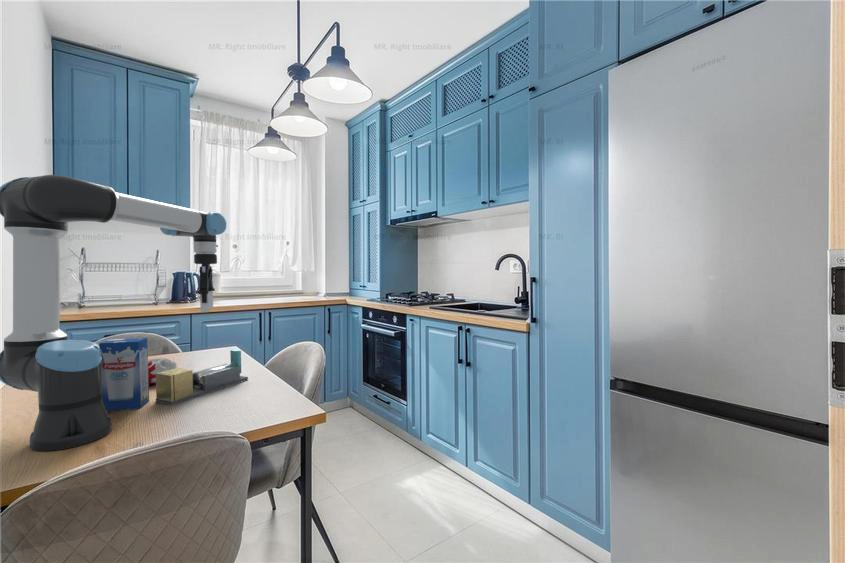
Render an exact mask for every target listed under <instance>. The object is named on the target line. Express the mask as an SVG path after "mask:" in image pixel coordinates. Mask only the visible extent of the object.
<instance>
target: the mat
mask: <svg viewBox="0 0 845 563" xmlns="http://www.w3.org/2000/svg"><path fill="white" fill-rule="evenodd" d="M247 379H248V380H249V377H248V376H245V375H244V376H243V375H240V380H237V381H234V382H231V383H228V384H225V385H222V386H219V387H216V388H213V389H209V390H206V391H203V390H197V389H194V388H193V395H191V396H188V397H185V398H182V399H179V400H176V401H173V402H170V401H165V400H160V399H157V398H155V402H156V403H160V404H165V405H169V406H175V405H178V404H181V403H183V402H186V401H189V400H192V399H194V398H198V397H201V396H204V395H207V394H209V393H213V392H215V391H218V390H221V389H224V388H228V387H230V385H231V386H233V384H234V385H236V383H237V384H239V383H238V382H240V383H242V382H241V381H243V382H245V381H248V380H247ZM244 380H245V381H244ZM227 386H228V387H227Z"/></svg>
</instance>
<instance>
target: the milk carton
mask: <svg viewBox="0 0 845 563" xmlns="http://www.w3.org/2000/svg"><path fill="white" fill-rule="evenodd" d="M98 346H99V347H100V352H101V356H102V361H101V374H102V401H103V403H104V406H105V408H106V410H107V412H110V411H114V412H115V411H122V410H136V409H141V408H143V407H144V406H146V405H147V404H148V403H149V402H150V385H149V379H148V359H149V357H148V356H149V355H148V354H149V351H148V350H149V349H148V337H135V338H133V337H132V338H131V337H130V338H111V339H110V338H109V339H107V340H104V341H102V342H99V343H98Z"/></svg>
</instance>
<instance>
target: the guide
mask: <svg viewBox="0 0 845 563" xmlns="http://www.w3.org/2000/svg"><path fill="white" fill-rule="evenodd" d="M228 364H229V363H228ZM228 364H227V363H223V364H219V365H216V366H212V367H208V368H205V369H201V370H198V371H194V372H193V369H189V368H182V367H177V368H175V369H171V370H167V371H163V372H159V373H156V383H155V390H156V391H155V393H156V394H155V396H156V398H157V399H160V400H165V401H170V402H173V401H176V400H179V399H182V398H185V397H188V396H191V395H193V388H194V389H197V390H203V391H206V390H209V389H213V388H216V387H219V386H222V385H225V384H228V383H231V382H234V381H237V380H240V376H241V373H240V366H238V365H237V366H234V367H230V368H227V369H223V370H220V371H216V372H213V373H209V374H206V375H202V384H198V383H197V382H196V379H195V376H196V374H197V373H199V372H202V371H206V370H210V369H213V368H217V367H220V366H224V365H228ZM156 398H155V399H156Z"/></svg>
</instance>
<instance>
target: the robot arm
mask: <svg viewBox="0 0 845 563" xmlns="http://www.w3.org/2000/svg"><path fill="white" fill-rule="evenodd" d="M0 215H1V216H2V217H3V229H4V230H5V231H6V232H8V233H9V234H10V235H11V236H12V332H10V334H8V335H7V336H6V337H4V338H3V350H1V351H0V382H2V384H5V385H6V386H9V387H11V388H12V389H17V390H21V391H30V392H35V393H36V392H37V395H38V396H37V397H38V398H37V399H38V414H37V417H36V420H35V423H34V426H33V431H32V432H31V433H30V435H29V448H30V449H31V450H33V451H37V452H38V451H39V452H51V451H59V450H60V451H61V450H66V449H70V448H76V447H80V446H83V445H86V444H88V443H89V444H90V443H92V442H95V441H97V440H100V439H101V438H104V437H105V436H107V435H108V434H110V433H111V431H113V420H112V418H111V417H110V416H109V414H108V411H107V410H106V408H105V406H104V403H103V401H102V374H101V361H102V356H101V352H100V347H99V344H98V343H96V342H94V341H91V340H86V339H78V340H77V339H68V334H67V333H66V332H64V331H63V330H61V329H60V318H61V317H60V313H61V312H60V299H61V298H60V295H61V294H60V293H61V291H60V288H61V287H60V286H61V282H60V281H61V278H60V277H61V272H60V271H61V267H60V266H61V263H60V262H61V255H60V254H61V238H62V237H65V235H67V234H68V232H69V231H68V230H69V228H68V226H69V223H71V222H73V223H75V222H97V223H103V224H106V223H109V222H110V221H115V222H122V223H127V224H135V225H142V226H146V227H147V226H148V227H152V228H153V227H155V228H160V231H161V232H162V234H164V235H166V236H172V237H175V236H176V237H191V238H192V239H193V253H194V256H193V263H194V264H195V265H201V266H199V289H198V291H197V295H199V296H200V297H199V298H200V300H199V304H200V305H199V307H200V313H210V309H211V308H214V292H215V291H216V290H215V289H216V288H215V287H214V286H213V285H214V284H213V283H214V282H213V267H212V266H211V265H217V264H218V254H215V253H217V252H218V251H217V249H218V248H219V245H218V244H217V235H219V236H220V235H221V234H223V233H224V232H226V230H227V219H226V218H225V216H224V215H223V214H222V213H220V212H214V211H203V210H202V211H201V210H196V209H192V208H188V207H183V206H179V205H175V204H171V203H170V204H169V203H165V202H159V201H156V200H152V199H147V198H143V197H139V196H134V195H130V194H125V193H120V192H117V191H115V189H113V188H112V187H110V186H107V185H101V184H98V183H95V182H90V181H87V180H82V179H78V178H74V177H71V176H66V175H65V176H64V175H60V174H45V175H40V176H28V177H27V176H25V177H23V176H22V177H18V178H14V179H12V180H9V181H8V182H6V183H4V184H2V185H1V186H0Z"/></svg>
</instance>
